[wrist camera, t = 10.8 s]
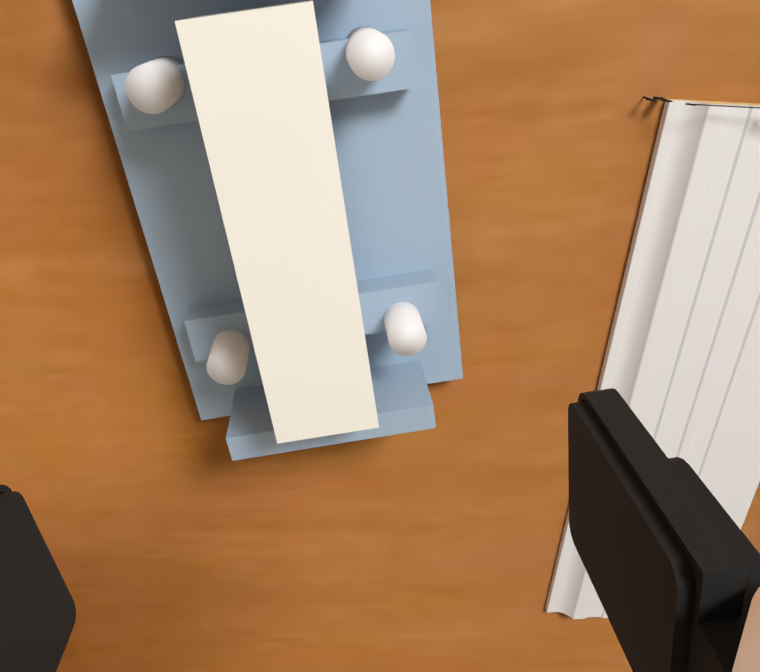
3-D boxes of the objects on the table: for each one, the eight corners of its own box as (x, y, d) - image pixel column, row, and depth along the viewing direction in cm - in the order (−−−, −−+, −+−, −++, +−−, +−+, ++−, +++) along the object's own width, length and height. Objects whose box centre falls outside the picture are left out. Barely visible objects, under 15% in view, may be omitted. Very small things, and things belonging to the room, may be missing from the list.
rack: (69, -44, 25) (13, -52, 20) (416, -95, 25) (440, -114, 21) (204, 407, 34) (187, 471, 29) (458, 366, 34) (481, 424, 30)
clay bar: (200, 15, 24) (174, 20, 19) (312, -1, 24) (313, 0, 19) (282, 378, 31) (277, 443, 26) (369, 364, 31) (379, 427, 26)
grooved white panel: (520, 600, 43) (695, 594, 45) (533, 639, 41) (719, 631, 42) (628, 93, 30) (878, 106, 31) (659, 102, 27) (930, 116, 28)
